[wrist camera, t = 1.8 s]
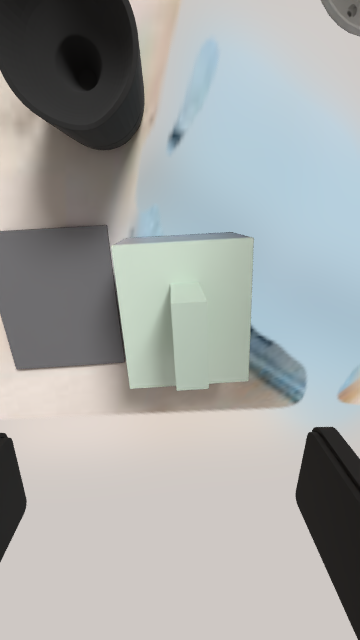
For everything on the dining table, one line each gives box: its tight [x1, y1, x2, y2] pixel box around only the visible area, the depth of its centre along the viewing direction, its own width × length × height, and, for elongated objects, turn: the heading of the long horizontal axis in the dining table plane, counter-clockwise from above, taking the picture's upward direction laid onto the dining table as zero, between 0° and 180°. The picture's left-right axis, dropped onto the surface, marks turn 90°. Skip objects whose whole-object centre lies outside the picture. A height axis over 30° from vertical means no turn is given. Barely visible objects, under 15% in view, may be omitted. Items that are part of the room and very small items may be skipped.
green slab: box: [111, 237, 254, 391], centre depth 25 cm, size 12×14×8 cm
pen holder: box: [0, 0, 144, 150], centre depth 23 cm, size 9×9×10 cm
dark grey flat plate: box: [0, 225, 125, 369], centre depth 34 cm, size 14×17×1 cm
